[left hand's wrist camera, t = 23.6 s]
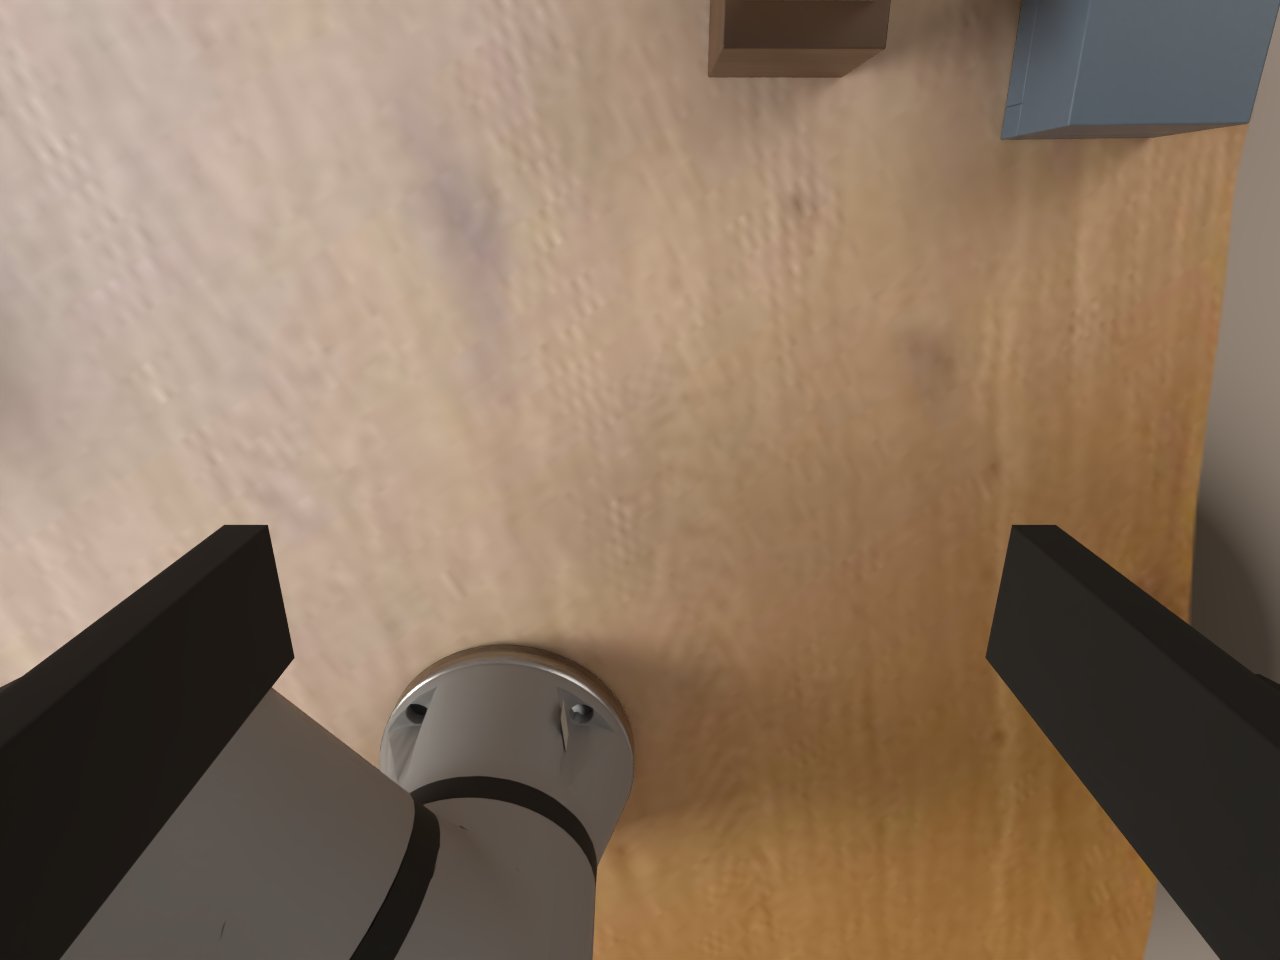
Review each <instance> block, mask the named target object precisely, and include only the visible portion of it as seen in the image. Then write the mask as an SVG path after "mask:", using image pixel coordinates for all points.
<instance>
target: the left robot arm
mask: <svg viewBox="0 0 1280 960" xmlns="http://www.w3.org/2000/svg"><path fill="white" fill-rule="evenodd" d="M293 659H294V653H293V648H292V643H291V638H290V633H289V628H288V623H287V618H286V613H285V608H284V603H283V598H282V593H281V588H280V583H279V578H278V573H277V568H276V563H275V558H274V553H273V548H272V543H271V539H270V534H269V529H268V525H224V526H222V527H221V528H220V529H218V530H217V531H216V532H214V533H213V534H212V535H210V536H209V537H208V538H206V539H205V540H204V541H202V542H201V543H200V544H198V545H197V546H196V547H194V548H193V549H192V550H190V551H189V552H188V553H186V554H185V555H184V556H182V557H181V558H180V559H178V560H177V561H176V562H174V563H173V564H172V565H170V566H169V567H168V568H166V569H165V570H164V571H162V572H161V573H160V574H158V575H157V576H156V577H154V578H153V579H152V580H150V581H149V582H148V583H146V584H145V585H144V586H142V587H141V588H140V589H138V590H137V591H136V592H134V593H133V594H132V595H130V596H129V597H128V598H126V599H125V600H124V601H122V602H121V603H120V604H118V605H117V606H116V607H114V608H113V609H112V610H110V611H109V612H108V613H106V614H105V615H104V616H102V617H101V618H100V619H98V620H97V621H96V622H94V623H93V624H92V625H90V626H89V627H88V628H86V629H85V630H84V631H82V632H81V633H80V634H78V635H77V636H76V637H74V638H73V639H72V640H70V641H69V642H68V643H66V644H65V645H64V646H62V647H61V648H60V649H58V650H57V651H56V652H54V653H53V654H52V655H50V656H49V657H48V658H46V659H45V660H44V661H42V662H41V663H40V664H38V665H37V666H36V667H34V668H33V669H32V670H30V671H29V672H28V673H26V674H25V675H24V676H22V677H20V678H18V679H16V680H14V681H12V682H10V683H8V684H6V685H4V686H2V687H0V960H592V958H593V936H594V914H595V892H596V875H597V866H598V864H599V862H600V859H601V857H602V855H603V853H604V851H605V848H606V846H607V844H608V842H609V840H610V837H611V835H612V833H613V831H614V829H615V826H616V824H617V822H618V820H619V818H620V815H621V813H622V811H623V809H624V807H625V804H626V802H627V800H628V798H629V795H630V791H631V788H632V782H633V773H634V742H633V735H632V730H631V727H630V723H629V720H628V718H627V716H626V713H625V711H624V709H623V708H622V706H621V704H620V702H619V701H618V700H617V698H616V697H615V696H614V694H613V693H612V692H611V691H610V689H609V688H608V687H607V686H606V685H605V684H604V683H603V682H602V681H601V680H599V679H598V678H597V677H596V676H595V675H593V674H592V673H591V672H589V671H588V670H587V669H585V668H583V667H582V666H580V665H578V664H577V663H575V662H573V661H571V660H569V659H567V658H565V657H562V656H560V655H557V654H554V653H551V652H548V651H545V650H541V649H536V648H532V647H525V646H517V645H491V646H483V647H477V648H472V649H468V650H464V651H461V652H458V653H455V654H452V655H450V656H448V657H445V658H443V659H441V660H440V661H438V662H436V663H434V664H433V665H431V666H430V667H428V668H427V669H425V670H424V671H423V672H422V673H420V674H419V675H418V676H417V677H416V678H415V679H414V680H413V681H412V682H411V683H410V684H409V685H408V687H407V688H406V689H405V691H404V692H403V694H402V695H401V697H400V699H399V700H398V702H397V704H396V706H395V708H394V710H393V712H392V714H391V716H390V718H389V720H388V723H387V725H386V727H385V730H384V733H383V737H382V741H381V747H380V770H378V769H377V768H376V767H375V766H373V765H372V764H371V763H369V762H368V761H367V760H365V759H364V758H363V757H361V756H360V755H359V754H358V753H356V752H355V751H354V750H352V749H351V748H350V747H348V746H347V745H346V744H345V743H343V742H342V741H341V740H339V739H338V738H337V737H335V736H334V735H333V734H332V733H330V732H329V731H328V730H326V729H325V728H324V727H322V726H321V725H320V724H319V723H317V722H316V721H315V720H313V719H312V718H311V717H309V716H308V715H307V714H306V713H304V712H303V711H302V710H300V709H299V708H298V707H296V706H295V705H294V704H293V703H291V702H290V701H289V700H287V699H286V698H285V697H283V696H282V695H281V694H279V693H278V692H277V691H276V690H274V689H273V688H272V686H273V685H274V683H275V682H276V681H277V679H278V678H279V677H280V676H281V674H282V673H283V672H284V670H285V669H286V668H287V667H288V665H289V664H290V663H291V661H292V660H293ZM986 659H987V660H988V661H989V663H990V664H991V665H992V667H993V668H994V669H995V670H996V672H997V673H998V674H999V676H1000V677H1001V678H1002V679H1003V681H1004V682H1005V683H1006V685H1007V686H1008V687H1009V688H1010V690H1011V691H1012V692H1013V694H1014V695H1015V696H1016V697H1017V699H1018V700H1019V701H1020V703H1021V704H1022V705H1023V706H1024V708H1025V709H1026V710H1027V712H1028V713H1029V714H1030V715H1031V717H1032V718H1033V719H1034V721H1035V722H1036V723H1037V724H1038V726H1039V727H1040V728H1041V730H1042V731H1043V732H1044V734H1045V735H1046V736H1047V737H1048V739H1049V740H1050V741H1051V743H1052V744H1053V745H1054V746H1055V748H1056V749H1057V750H1058V752H1059V753H1060V754H1061V755H1062V757H1063V758H1064V759H1065V761H1066V762H1067V763H1068V764H1069V766H1070V767H1071V768H1072V770H1073V771H1074V772H1075V773H1076V775H1077V776H1078V777H1079V779H1080V780H1081V781H1082V782H1083V784H1084V785H1085V786H1086V788H1087V789H1088V790H1089V791H1090V793H1091V794H1092V795H1093V797H1094V798H1095V799H1096V800H1097V802H1098V803H1099V804H1100V806H1101V807H1102V808H1103V809H1104V811H1105V812H1106V813H1107V815H1108V816H1109V817H1110V818H1111V820H1112V821H1113V822H1114V824H1115V825H1116V826H1117V827H1118V829H1119V830H1120V831H1121V833H1122V834H1123V835H1124V836H1125V838H1126V839H1127V840H1128V842H1129V843H1130V844H1131V845H1132V847H1133V848H1134V849H1135V851H1136V852H1137V853H1138V854H1139V856H1140V857H1141V858H1142V860H1143V861H1144V862H1145V863H1146V865H1147V866H1148V867H1149V869H1150V870H1151V871H1152V872H1153V874H1154V875H1155V876H1156V878H1157V879H1158V880H1159V881H1160V883H1161V884H1162V885H1163V886H1164V888H1165V889H1166V890H1167V892H1168V893H1169V894H1170V896H1171V897H1172V898H1173V899H1174V901H1175V902H1176V903H1177V905H1178V906H1179V907H1180V908H1181V910H1182V911H1183V912H1184V914H1185V915H1186V916H1187V917H1188V919H1189V920H1190V921H1191V923H1192V924H1193V925H1194V926H1195V928H1196V929H1197V930H1198V932H1199V933H1200V934H1201V935H1202V937H1203V938H1204V939H1205V941H1206V942H1207V943H1208V944H1209V946H1210V947H1211V948H1212V949H1213V951H1214V952H1215V953H1216V955H1217V956H1218V957H1219V959H1220V960H1280V684H1278V683H1276V682H1274V681H1272V680H1270V679H1268V678H1266V677H1264V676H1262V675H1260V674H1254V673H1252V672H1251V671H1250V670H1248V669H1247V668H1246V667H1244V666H1243V665H1242V664H1240V663H1239V662H1238V661H1236V660H1235V659H1234V658H1232V657H1231V656H1230V655H1228V654H1227V653H1226V652H1224V651H1223V650H1222V649H1220V648H1219V647H1218V646H1216V645H1215V644H1214V643H1212V642H1211V641H1210V640H1208V639H1207V638H1206V637H1204V636H1203V635H1202V634H1200V633H1199V632H1198V631H1196V630H1195V629H1194V628H1192V627H1191V626H1190V625H1188V624H1187V623H1186V622H1184V621H1183V620H1182V619H1180V618H1179V617H1178V616H1176V615H1175V614H1174V613H1172V612H1171V611H1170V610H1168V609H1167V608H1166V607H1164V606H1163V605H1162V604H1160V603H1159V602H1158V601H1156V600H1155V599H1154V598H1152V597H1151V596H1150V595H1148V594H1147V593H1146V592H1144V591H1143V590H1142V589H1140V588H1139V587H1138V586H1136V585H1135V584H1134V583H1132V582H1131V581H1130V580H1128V579H1127V578H1126V577H1124V576H1123V575H1122V574H1120V573H1119V572H1118V571H1116V570H1115V569H1114V568H1112V567H1111V566H1110V565H1108V564H1107V563H1106V562H1104V561H1103V560H1102V559H1100V558H1099V557H1098V556H1096V555H1095V554H1094V553H1092V552H1091V551H1090V550H1088V549H1087V548H1086V547H1084V546H1083V545H1082V544H1080V543H1079V542H1078V541H1076V540H1075V539H1074V538H1072V537H1071V536H1070V535H1068V534H1067V533H1066V532H1064V531H1063V530H1062V529H1060V528H1059V527H1058V526H1056V525H1012V529H1011V534H1010V539H1009V543H1008V548H1007V553H1006V558H1005V563H1004V568H1003V573H1002V578H1001V583H1000V588H999V593H998V598H997V603H996V608H995V613H994V618H993V623H992V628H991V633H990V638H989V643H988V648H987V653H986Z"/></svg>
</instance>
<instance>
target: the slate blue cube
mask: <svg viewBox="0 0 1280 960" xmlns="http://www.w3.org/2000/svg"><path fill="white" fill-rule="evenodd" d="M1279 6H1280V0H1022V4H1021V11H1020V18H1019V24H1018V31H1017V38H1016V44H1015V51H1014V57H1013V64H1012V71H1011V77H1010V84H1009V90H1008V97H1007V104H1006V107H1008V108H1006V109H1005V115H1004V122H1003V128H1002V135H1001V139H1002V140H1006V139H1084V138H1154V137H1161V136H1167V135H1174V134H1180V133H1187V132H1194V131H1201V130H1207V129H1214V128H1221V127H1228V126H1235V125H1241V124H1247V123H1249V121H1250V117H1251V113H1252V110H1253V106H1254V102H1255V98H1256V94H1257V90H1258V87H1259V83H1260V79H1261V75H1262V71H1263V67H1264V63H1265V60H1266V56H1267V52H1268V48H1269V44H1270V40H1271V37H1272V33H1273V28H1274V25H1275V21H1276V17H1277V13H1278V10H1279Z"/></svg>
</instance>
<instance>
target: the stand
mask: <svg viewBox="0 0 1280 960" xmlns="http://www.w3.org/2000/svg"><path fill="white" fill-rule="evenodd" d="M890 1H891V0H710V28H709V60H708V77H843V76H844V75H846V74H847V73H849V72H850V71H852V70H853V69H855V68H856V67H858V66H859V65H861V64H862V63H864V62H865V61H867V60H868V59H870V58H871V57H873V56H874V55H876V54H877V53H879V52H880V51H882V50H883V49H885V47H886V39H887V29H888V20H889V11H890Z"/></svg>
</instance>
